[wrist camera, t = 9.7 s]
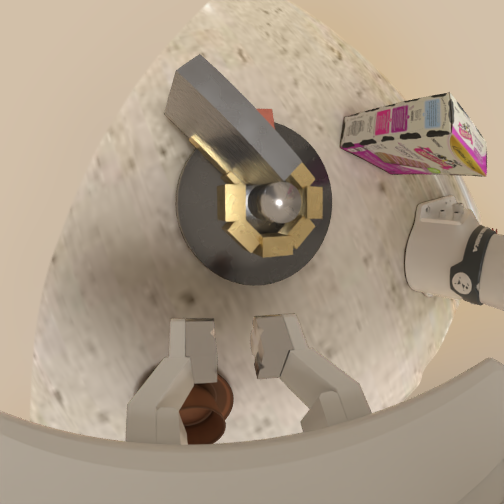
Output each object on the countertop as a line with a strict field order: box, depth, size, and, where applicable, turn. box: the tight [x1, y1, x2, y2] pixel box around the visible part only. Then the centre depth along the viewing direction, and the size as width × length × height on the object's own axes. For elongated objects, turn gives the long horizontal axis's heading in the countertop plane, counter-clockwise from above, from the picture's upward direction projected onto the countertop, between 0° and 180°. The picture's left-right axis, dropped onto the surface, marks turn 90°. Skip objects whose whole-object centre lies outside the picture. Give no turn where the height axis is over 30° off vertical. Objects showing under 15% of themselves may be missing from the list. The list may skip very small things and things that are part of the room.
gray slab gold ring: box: [164, 54, 323, 258], centre depth 21 cm, size 18×10×9 cm, turn 46°
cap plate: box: [176, 109, 332, 285], centre depth 26 cm, size 17×17×6 cm
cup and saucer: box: [179, 374, 233, 445], centre depth 27 cm, size 12×12×6 cm
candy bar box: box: [340, 92, 487, 177], centre depth 26 cm, size 11×5×16 cm, turn 77°
